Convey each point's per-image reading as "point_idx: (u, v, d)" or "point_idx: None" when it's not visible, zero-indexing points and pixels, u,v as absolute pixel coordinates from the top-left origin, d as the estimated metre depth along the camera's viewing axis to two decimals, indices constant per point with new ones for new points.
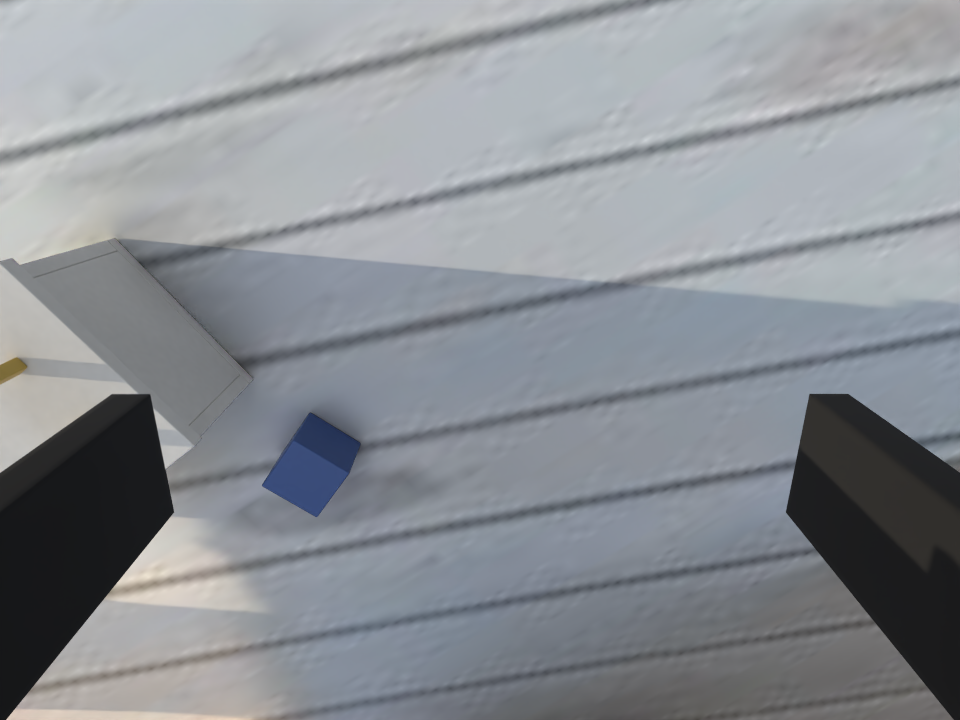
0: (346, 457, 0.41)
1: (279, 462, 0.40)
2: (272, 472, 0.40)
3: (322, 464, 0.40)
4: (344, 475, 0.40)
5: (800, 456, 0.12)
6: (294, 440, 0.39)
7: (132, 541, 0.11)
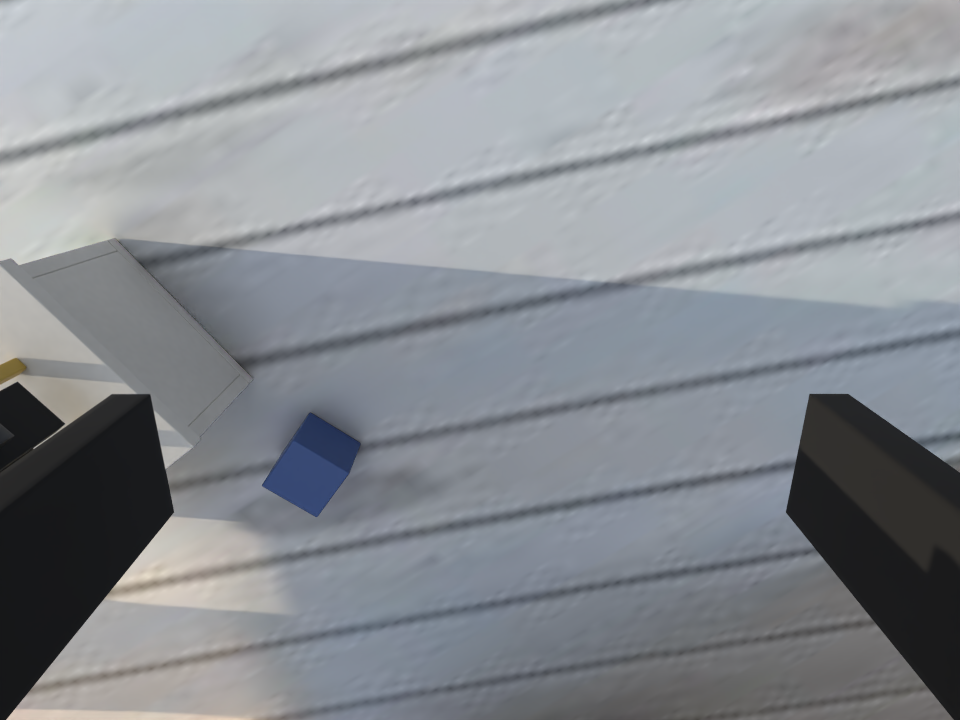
0: (346, 457, 0.41)
1: (279, 462, 0.40)
2: (272, 472, 0.40)
3: (322, 464, 0.40)
4: (344, 475, 0.40)
5: (800, 456, 0.12)
6: (294, 440, 0.39)
7: (132, 541, 0.11)
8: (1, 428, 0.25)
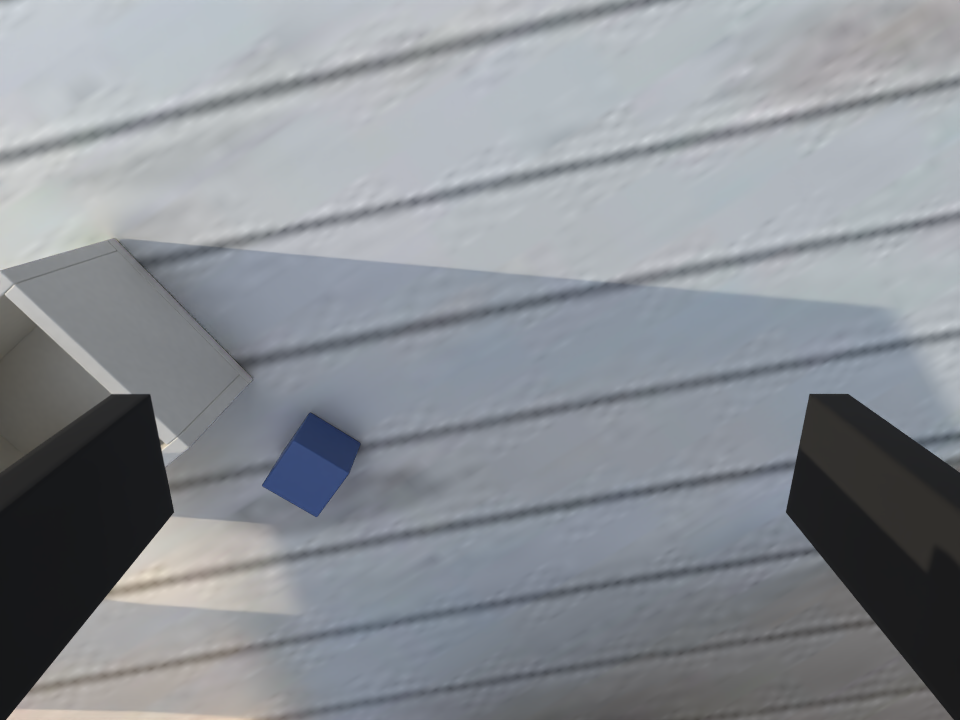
0: (346, 457, 0.41)
1: (279, 462, 0.40)
2: (272, 472, 0.40)
3: (322, 464, 0.40)
4: (344, 475, 0.40)
5: (800, 456, 0.12)
6: (294, 440, 0.39)
7: (132, 541, 0.11)
8: None
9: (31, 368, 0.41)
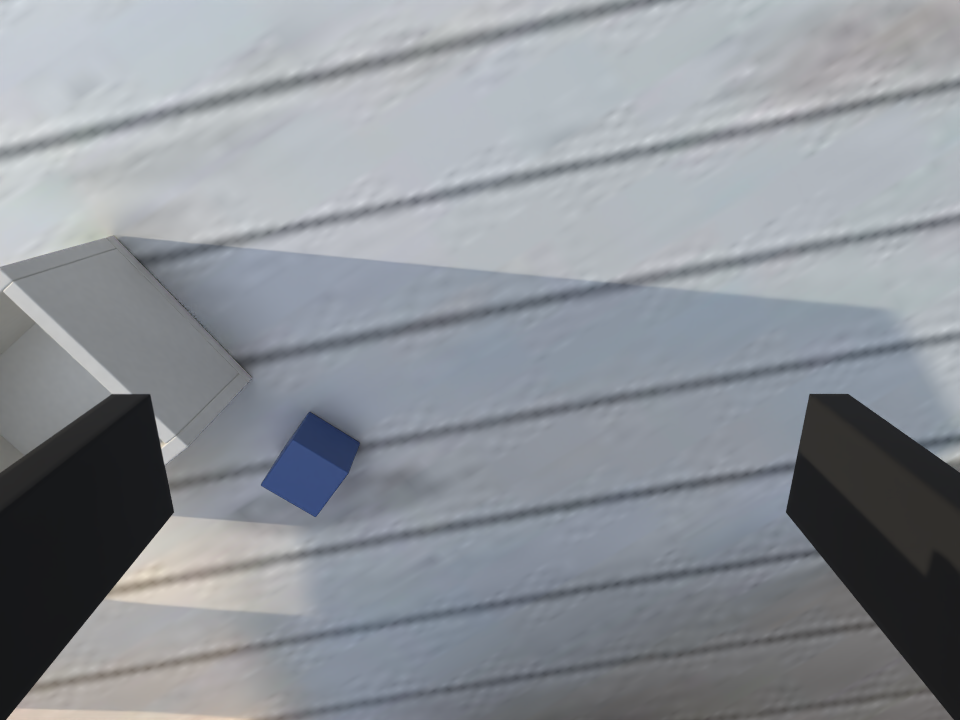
0: (345, 457, 0.41)
1: (278, 461, 0.39)
2: (271, 471, 0.40)
3: (321, 463, 0.39)
4: (343, 475, 0.40)
5: (799, 456, 0.12)
6: (293, 439, 0.39)
7: (133, 541, 0.11)
8: None
9: (29, 366, 0.41)
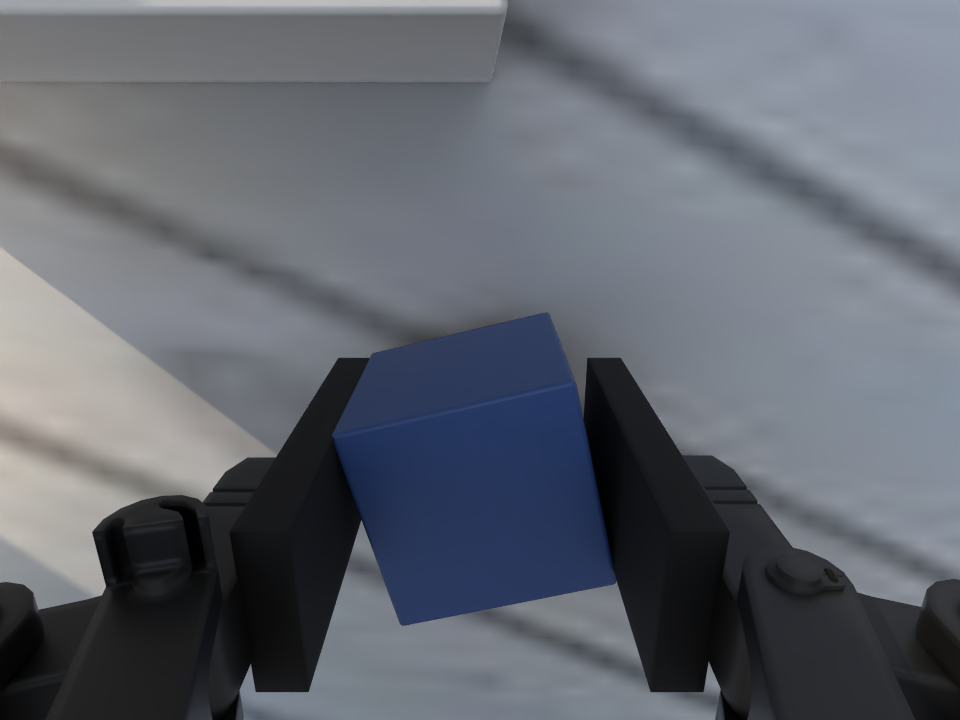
0: None
1: (460, 412, 0.10)
2: (406, 423, 0.10)
3: (577, 510, 0.11)
4: (599, 581, 0.11)
5: (585, 413, 0.14)
6: (573, 384, 0.10)
7: None
8: None
9: None
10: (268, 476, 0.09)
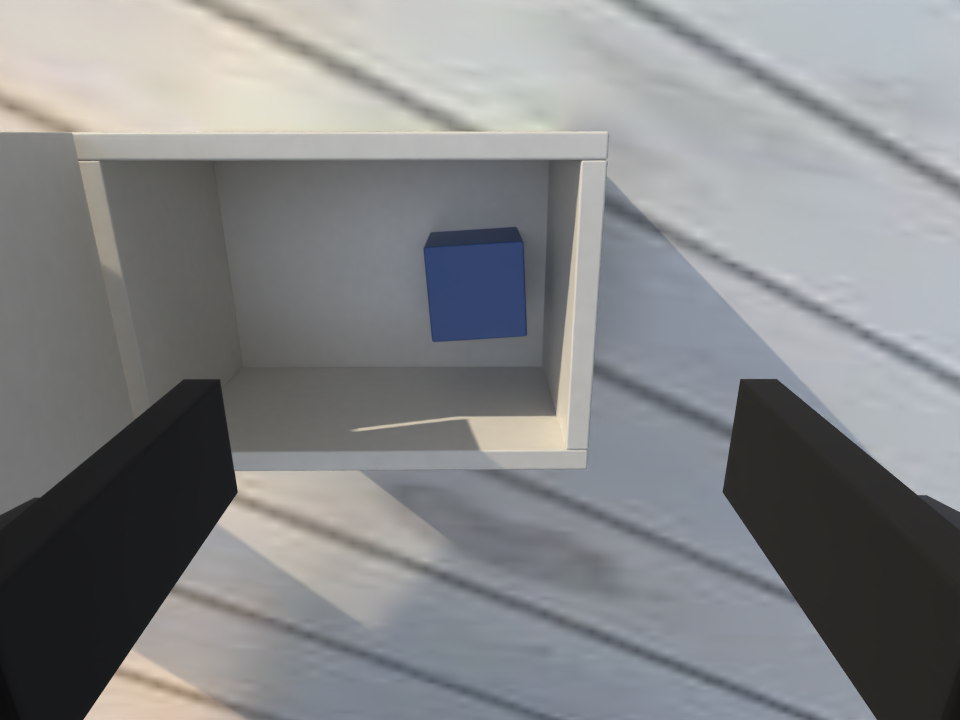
0: None
1: (476, 246, 0.26)
2: (455, 247, 0.26)
3: (516, 298, 0.26)
4: (520, 333, 0.27)
5: (733, 438, 0.13)
6: (522, 243, 0.26)
7: (207, 517, 0.12)
8: None
9: (339, 189, 0.29)
10: (8, 528, 0.08)
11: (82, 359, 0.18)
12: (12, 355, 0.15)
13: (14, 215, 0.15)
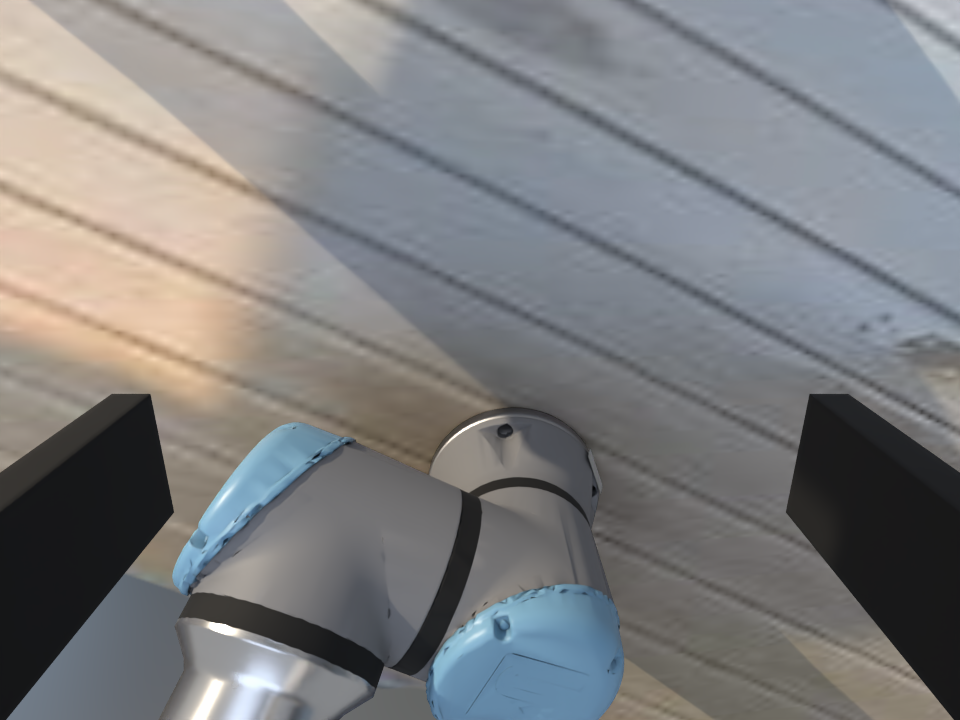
0: None
1: None
2: None
3: None
4: None
5: (799, 456, 0.12)
6: None
7: (132, 541, 0.11)
8: None
9: None
10: None
11: None
12: None
13: None
